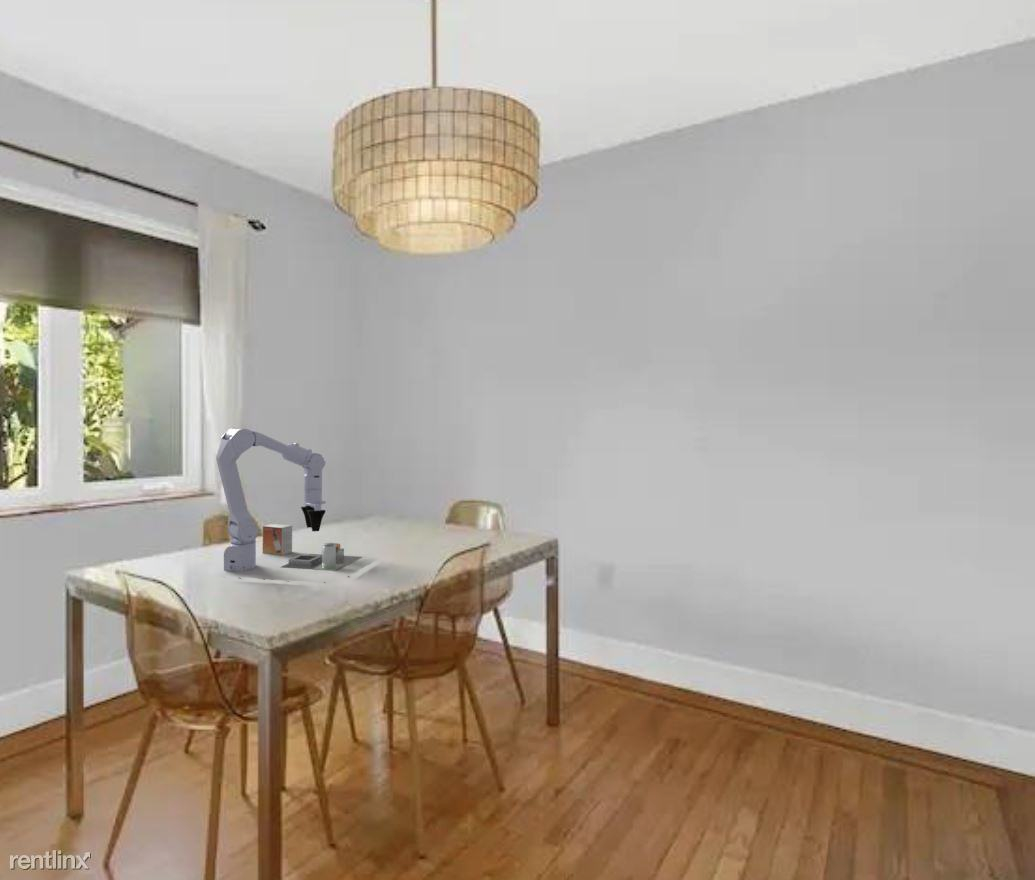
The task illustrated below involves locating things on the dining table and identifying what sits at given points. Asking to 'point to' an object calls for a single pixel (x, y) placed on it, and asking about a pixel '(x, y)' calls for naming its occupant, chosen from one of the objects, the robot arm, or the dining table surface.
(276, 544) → the small box
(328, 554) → the cylinder
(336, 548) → the plunger
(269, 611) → the dining table surface
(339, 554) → the housing
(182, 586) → the dining table surface
